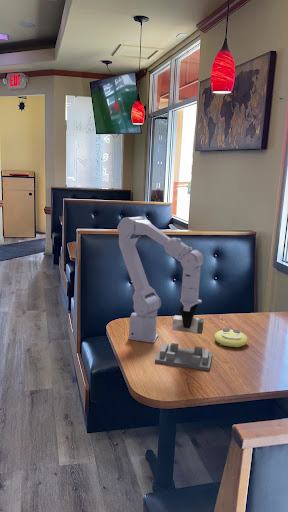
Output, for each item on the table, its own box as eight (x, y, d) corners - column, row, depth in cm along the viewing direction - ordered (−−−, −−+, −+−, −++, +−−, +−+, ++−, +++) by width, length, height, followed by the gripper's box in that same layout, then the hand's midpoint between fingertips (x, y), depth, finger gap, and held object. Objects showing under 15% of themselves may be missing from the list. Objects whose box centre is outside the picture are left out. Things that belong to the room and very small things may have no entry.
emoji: (249, 342, 145) (247, 328, 156) (213, 338, 147) (215, 324, 158) (248, 352, 146) (246, 337, 157) (212, 348, 148) (214, 334, 159)
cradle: (154, 362, 132) (155, 353, 132) (162, 348, 144) (162, 339, 143) (209, 370, 129) (209, 361, 128) (212, 355, 140) (212, 346, 139)
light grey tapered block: (172, 330, 142) (172, 318, 141) (173, 326, 146) (174, 315, 145) (201, 334, 140) (202, 322, 139) (202, 330, 144) (203, 318, 143)
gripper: (200, 293, 132) (197, 334, 135) (204, 282, 146) (201, 320, 149) (178, 291, 134) (175, 331, 136) (184, 280, 148) (181, 317, 150)
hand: (187, 325), depth 143 cm, fingers closed on light grey tapered block, 4 cm apart
